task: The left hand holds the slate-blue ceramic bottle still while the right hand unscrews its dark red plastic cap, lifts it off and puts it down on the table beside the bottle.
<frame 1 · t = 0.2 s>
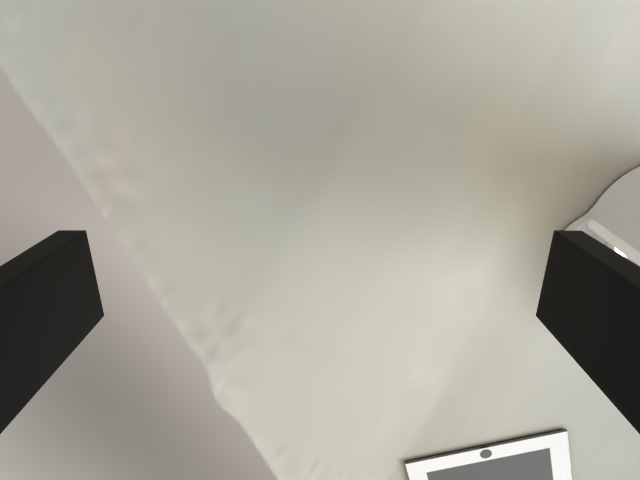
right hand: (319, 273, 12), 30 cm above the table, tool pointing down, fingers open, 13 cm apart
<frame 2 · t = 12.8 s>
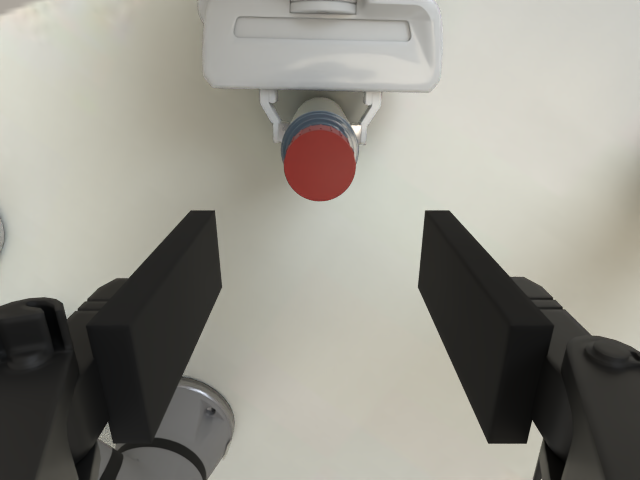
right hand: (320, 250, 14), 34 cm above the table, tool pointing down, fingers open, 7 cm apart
left hand: (320, 143, 40), fingers closed on bottle, 5 cm apart
bottle: (319, 124, 46), on the table, touching left hand
cap: (319, 165, 26), point 21 cm above the table, screwed on, not yet turned
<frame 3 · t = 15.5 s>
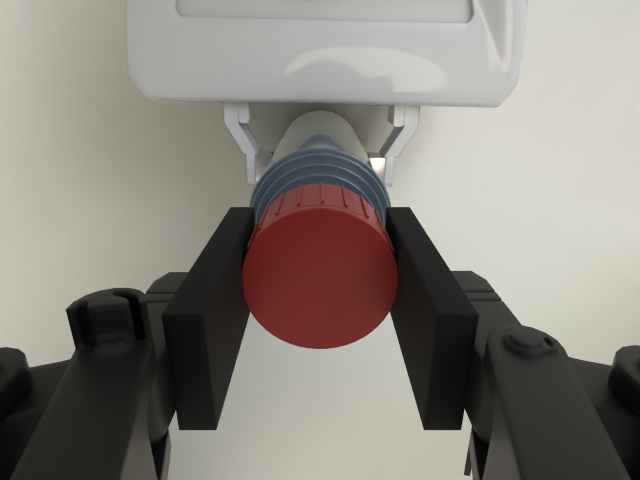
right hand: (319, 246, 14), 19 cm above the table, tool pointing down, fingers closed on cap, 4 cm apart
left hand: (320, 183, 26), fingers closed on bottle, 5 cm apart
bottle: (320, 149, 31), on the table, touching left hand
cap: (320, 278, 12), point 21 cm above the table, screwed on, not yet turned, touching right hand
when the right hand's fingers open (1 cm above the table, at t = 32.6 s): cap drops 1 cm, point 2 cm above the table.
when the left hand's fingers open (7 cm above the table, at t = 34.0 s): bottle stays where it is, on the table.
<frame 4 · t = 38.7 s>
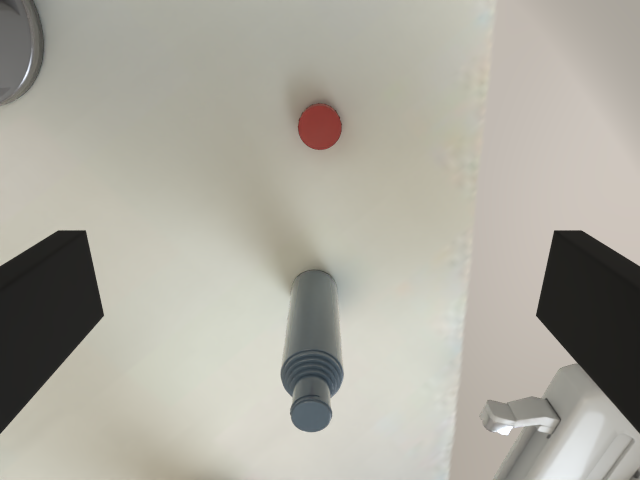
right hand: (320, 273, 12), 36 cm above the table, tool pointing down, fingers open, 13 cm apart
bottle: (314, 290, 53), on the table
cap: (319, 127, 43), point 2 cm above the table, off its thread
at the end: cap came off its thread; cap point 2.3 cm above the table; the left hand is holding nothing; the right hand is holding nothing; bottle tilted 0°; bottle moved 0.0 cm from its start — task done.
